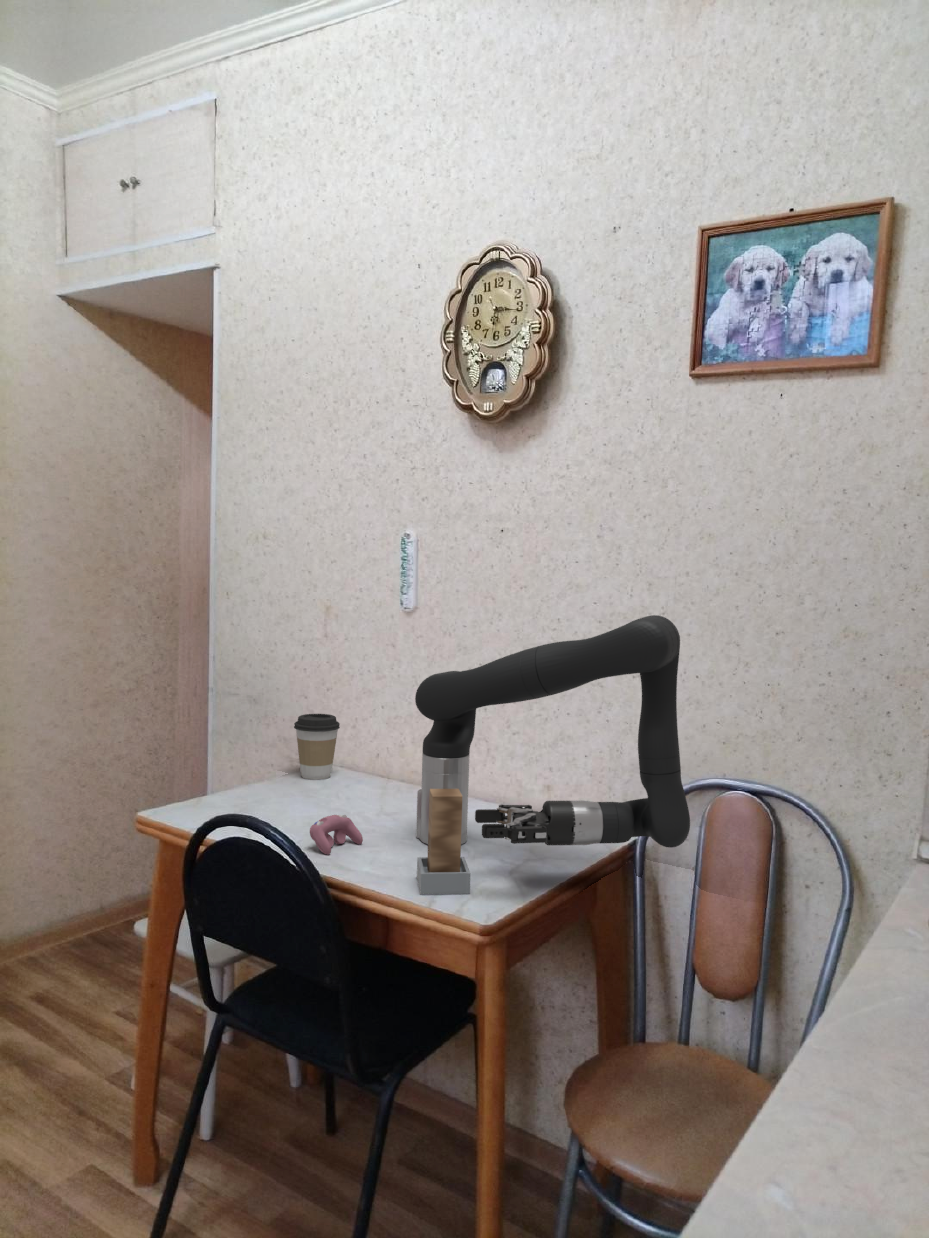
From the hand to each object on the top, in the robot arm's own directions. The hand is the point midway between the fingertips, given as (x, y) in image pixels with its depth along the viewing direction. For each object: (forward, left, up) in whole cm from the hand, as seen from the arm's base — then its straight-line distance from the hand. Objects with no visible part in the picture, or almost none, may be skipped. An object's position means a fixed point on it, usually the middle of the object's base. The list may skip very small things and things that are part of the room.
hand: (478, 823), depth 153 cm
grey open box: (-4, -4, -11) cm, 12 cm away
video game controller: (-32, -3, -11) cm, 34 cm away
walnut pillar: (-4, -4, -9) cm, 10 cm away
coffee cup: (-75, +30, -11) cm, 82 cm away
